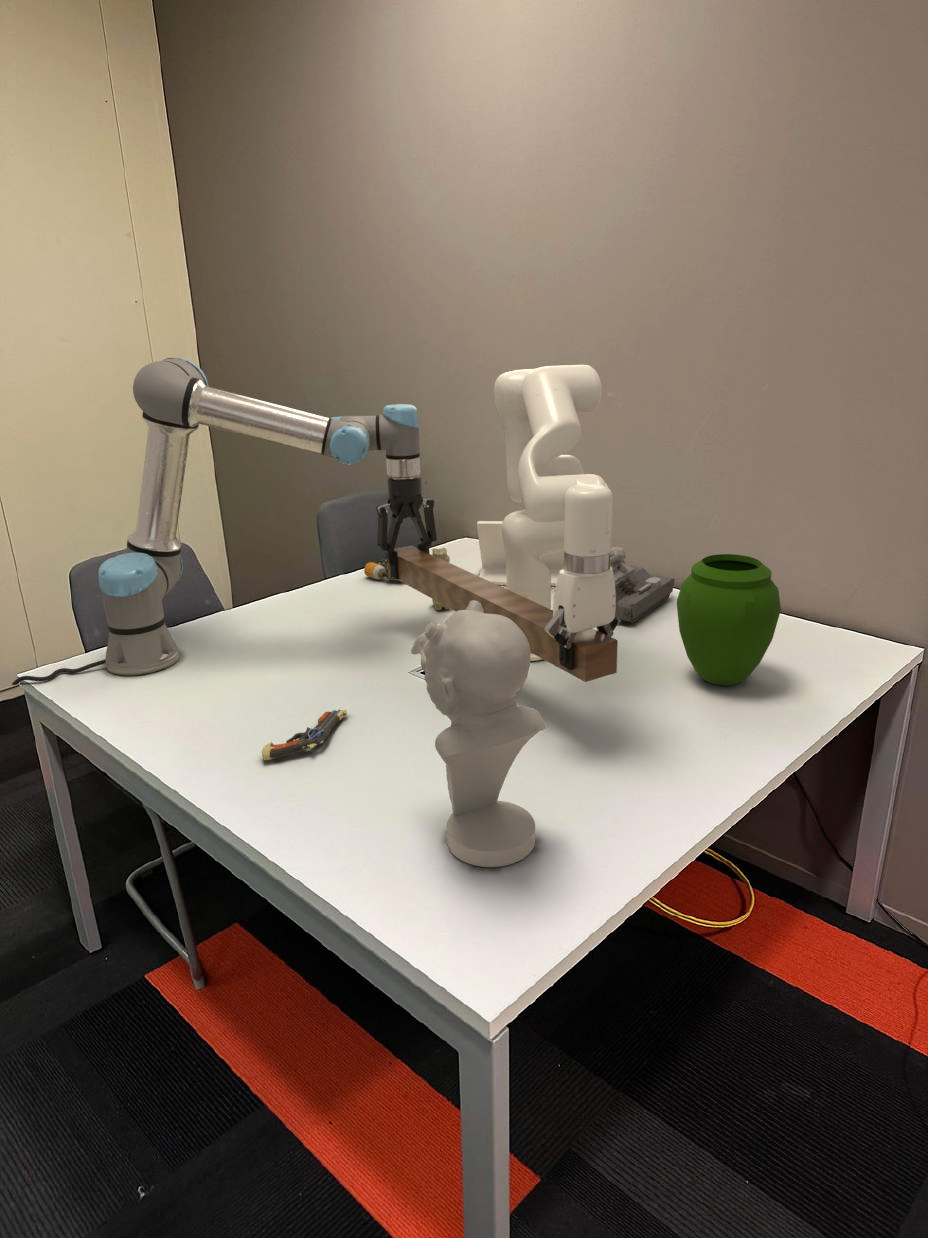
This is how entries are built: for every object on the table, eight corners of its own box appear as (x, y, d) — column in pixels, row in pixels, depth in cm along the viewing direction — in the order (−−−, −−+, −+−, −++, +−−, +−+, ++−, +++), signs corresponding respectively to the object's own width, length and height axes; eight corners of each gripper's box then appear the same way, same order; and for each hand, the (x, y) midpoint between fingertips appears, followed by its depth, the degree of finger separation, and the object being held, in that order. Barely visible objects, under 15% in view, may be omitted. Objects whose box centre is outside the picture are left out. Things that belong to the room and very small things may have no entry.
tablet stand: (569, 585, 229) (570, 524, 223) (476, 584, 232) (475, 523, 226) (570, 566, 246) (571, 508, 240) (484, 564, 249) (483, 507, 243)
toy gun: (256, 750, 145) (311, 748, 142) (297, 707, 162) (347, 704, 160) (259, 765, 145) (314, 762, 143) (300, 720, 163) (349, 718, 161)
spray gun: (384, 565, 253) (429, 572, 247) (354, 578, 239) (401, 586, 233) (384, 551, 252) (430, 558, 246) (354, 564, 237) (402, 571, 232)
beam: (616, 673, 143) (617, 640, 141) (585, 682, 140) (585, 648, 138) (413, 569, 203) (411, 545, 201) (387, 574, 200) (386, 550, 198)
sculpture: (453, 601, 220) (451, 545, 214) (454, 611, 213) (452, 553, 208) (430, 602, 219) (428, 546, 214) (430, 612, 213) (428, 554, 207)
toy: (603, 584, 229) (605, 530, 224) (673, 597, 218) (677, 540, 213) (555, 612, 210) (556, 553, 205) (630, 627, 199) (633, 566, 194)
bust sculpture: (481, 772, 140) (476, 569, 128) (565, 848, 120) (569, 617, 108) (392, 800, 134) (378, 588, 121) (465, 886, 114) (457, 642, 101)
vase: (783, 670, 175) (796, 555, 166) (758, 707, 159) (770, 583, 151) (690, 652, 185) (697, 543, 176) (657, 685, 169) (664, 568, 161)
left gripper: (434, 468, 197) (438, 563, 205) (356, 479, 188) (363, 578, 196) (450, 473, 191) (453, 571, 199) (370, 484, 182) (377, 586, 190)
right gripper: (613, 547, 145) (609, 643, 152) (529, 565, 137) (529, 666, 144) (643, 557, 139) (638, 658, 146) (557, 577, 131) (556, 682, 138)
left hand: (409, 574), depth 198 cm, fingers closed on beam, 7 cm apart
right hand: (584, 661), depth 145 cm, fingers closed on beam, 6 cm apart
